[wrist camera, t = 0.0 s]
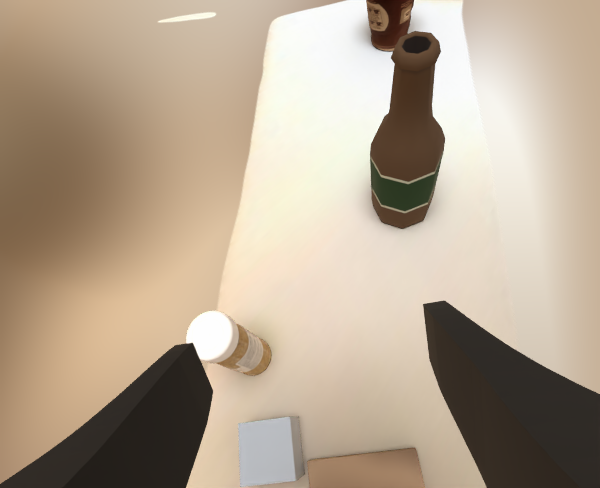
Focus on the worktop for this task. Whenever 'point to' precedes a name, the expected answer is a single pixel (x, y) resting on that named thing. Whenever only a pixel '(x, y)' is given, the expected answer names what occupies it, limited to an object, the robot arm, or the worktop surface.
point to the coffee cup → (388, 21)
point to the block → (270, 451)
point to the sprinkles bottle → (228, 343)
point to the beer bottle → (408, 136)
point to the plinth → (367, 470)
